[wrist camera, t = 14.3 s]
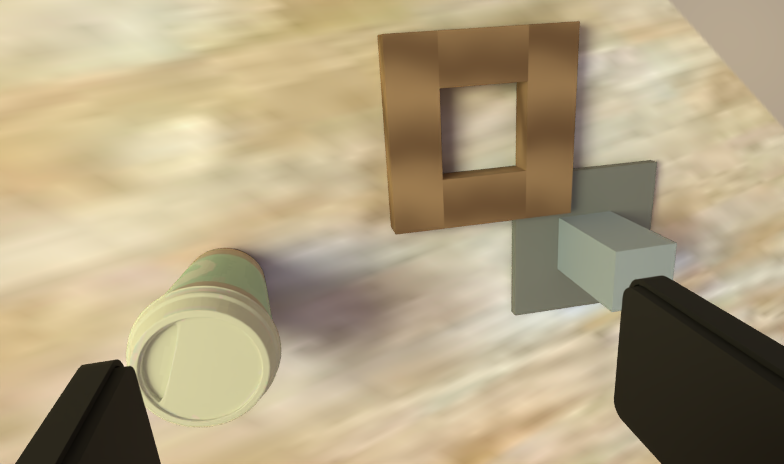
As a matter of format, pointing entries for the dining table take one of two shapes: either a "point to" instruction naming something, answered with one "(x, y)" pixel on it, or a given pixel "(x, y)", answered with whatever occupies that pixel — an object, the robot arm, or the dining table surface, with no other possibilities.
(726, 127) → the dining table surface
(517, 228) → the coaster
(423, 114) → the board
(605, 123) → the dining table surface
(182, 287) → the coffee cup
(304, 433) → the dining table surface
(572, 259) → the slate block
